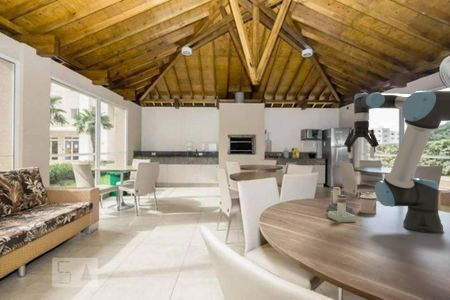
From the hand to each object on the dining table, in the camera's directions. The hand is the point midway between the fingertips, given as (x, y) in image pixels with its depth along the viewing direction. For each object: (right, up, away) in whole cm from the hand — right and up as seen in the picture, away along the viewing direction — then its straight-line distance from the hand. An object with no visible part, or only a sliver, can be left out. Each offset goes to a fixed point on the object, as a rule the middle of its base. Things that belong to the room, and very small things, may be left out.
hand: (361, 158), depth 155 cm
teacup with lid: (+6, -32, +5) cm, 33 cm away
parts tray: (-16, -32, -12) cm, 38 cm away
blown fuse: (-16, -31, -12) cm, 37 cm away
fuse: (-11, -30, +7) cm, 32 cm away
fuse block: (-11, -32, +4) cm, 34 cm away
